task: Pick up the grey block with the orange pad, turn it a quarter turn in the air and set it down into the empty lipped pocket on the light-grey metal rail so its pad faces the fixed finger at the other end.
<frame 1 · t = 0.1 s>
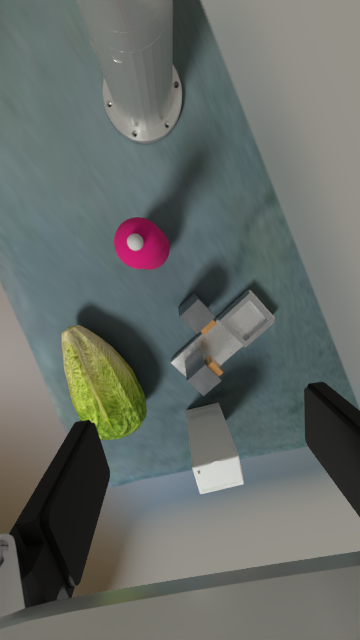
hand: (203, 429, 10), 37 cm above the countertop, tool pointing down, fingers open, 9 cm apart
rail: (220, 338, 49), on the countertop
grey block: (193, 307, 47), on the countertop
lettuce: (106, 369, 50), on the countertop
skincare box: (204, 415, 54), on the countertop
pepper mill: (150, 249, 43), on the countertop
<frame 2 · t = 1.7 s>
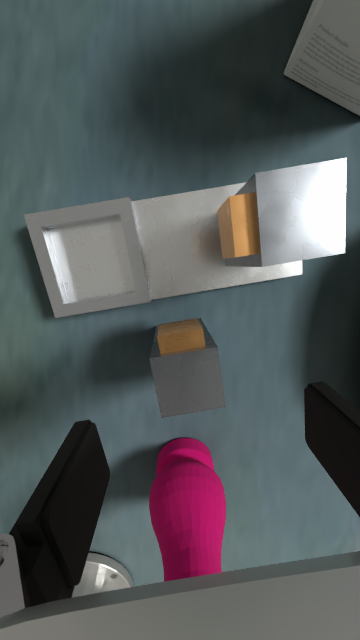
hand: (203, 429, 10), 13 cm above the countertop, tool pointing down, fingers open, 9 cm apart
rail: (171, 249, 20), on the countertop
grey block: (182, 343, 23), on the countertop
skincare box: (339, 60, 18), on the countertop
pepper mill: (184, 458, 26), on the countertop
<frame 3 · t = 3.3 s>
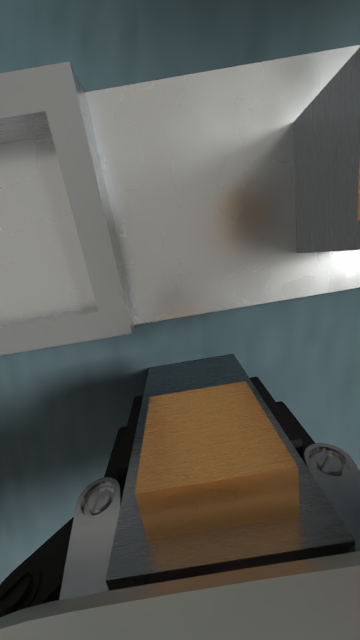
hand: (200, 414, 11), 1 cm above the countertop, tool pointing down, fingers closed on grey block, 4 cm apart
rail: (179, 218, 10), on the countertop
grey block: (197, 397, 12), on the countertop, touching gripper
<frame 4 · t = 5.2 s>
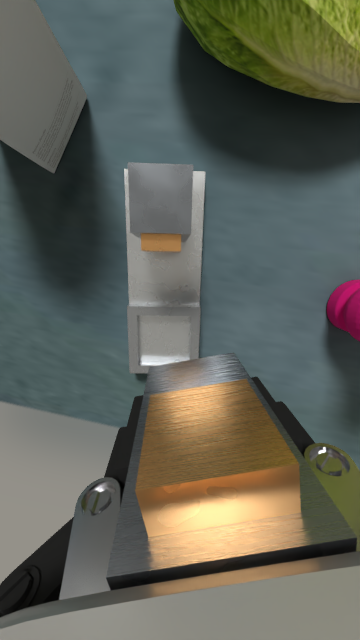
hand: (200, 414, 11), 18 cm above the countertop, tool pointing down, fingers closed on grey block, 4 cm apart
rail: (165, 281, 27), on the countertop
grey block: (197, 396, 12), point 16 cm above the countertop, touching gripper
lettuce: (293, 43, 22), on the countertop
skincare box: (44, 121, 23), on the countertop
pepper mill: (349, 304, 28), on the countertop
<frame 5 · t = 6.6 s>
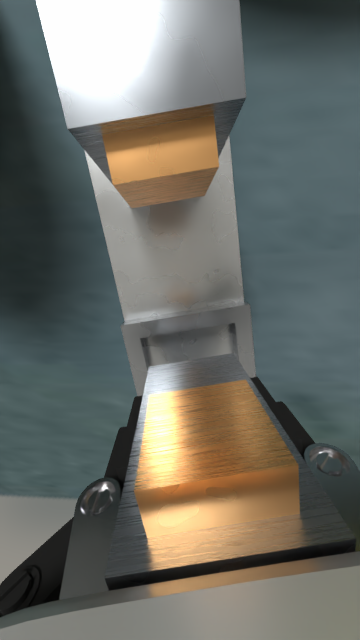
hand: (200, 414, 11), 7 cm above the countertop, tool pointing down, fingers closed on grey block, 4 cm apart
rail: (177, 271, 16), on the countertop
grey block: (197, 396, 12), point 5 cm above the countertop, touching gripper
when the fingers open (4 cm above the countertop, at t = 7.3 s): grey block stays where it is, resting on rail.
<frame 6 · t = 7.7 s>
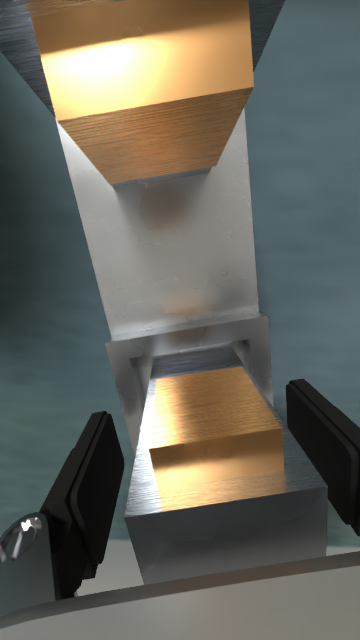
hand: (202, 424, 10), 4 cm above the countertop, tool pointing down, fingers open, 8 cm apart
rail: (176, 273, 13), on the countertop
grey block: (197, 387, 13), point 1 cm above the countertop, touching rail
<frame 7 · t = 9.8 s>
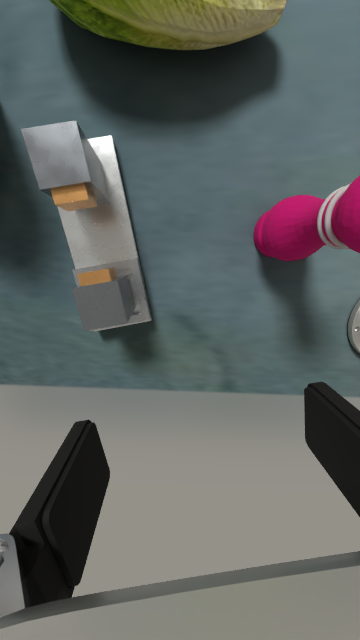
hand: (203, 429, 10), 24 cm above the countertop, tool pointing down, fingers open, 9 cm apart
rail: (104, 244, 30), on the countertop
grey block: (115, 293, 30), point 1 cm above the countertop, touching rail
lettuce: (162, 5, 24), on the countertop
pepper mill: (274, 233, 31), on the countertop
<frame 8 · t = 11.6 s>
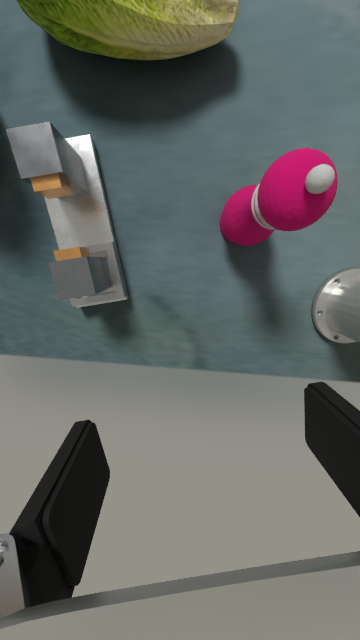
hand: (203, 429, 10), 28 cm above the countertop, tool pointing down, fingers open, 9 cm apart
rail: (86, 230, 34), on the countertop
grey block: (95, 274, 34), point 1 cm above the countertop, touching rail
lettuce: (134, 21, 28), on the countertop
pepper mill: (239, 222, 35), on the countertop
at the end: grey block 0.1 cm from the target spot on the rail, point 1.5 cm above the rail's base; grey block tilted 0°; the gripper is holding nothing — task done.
